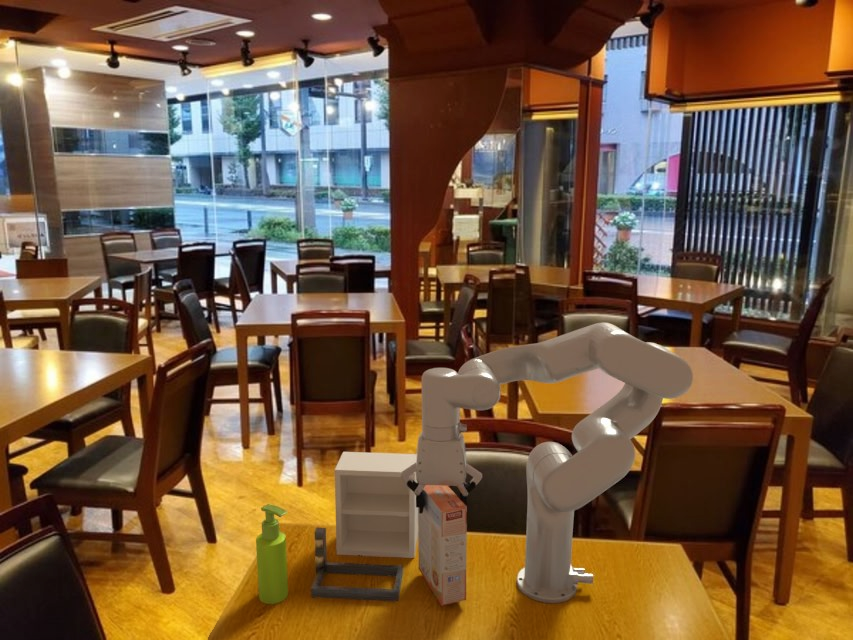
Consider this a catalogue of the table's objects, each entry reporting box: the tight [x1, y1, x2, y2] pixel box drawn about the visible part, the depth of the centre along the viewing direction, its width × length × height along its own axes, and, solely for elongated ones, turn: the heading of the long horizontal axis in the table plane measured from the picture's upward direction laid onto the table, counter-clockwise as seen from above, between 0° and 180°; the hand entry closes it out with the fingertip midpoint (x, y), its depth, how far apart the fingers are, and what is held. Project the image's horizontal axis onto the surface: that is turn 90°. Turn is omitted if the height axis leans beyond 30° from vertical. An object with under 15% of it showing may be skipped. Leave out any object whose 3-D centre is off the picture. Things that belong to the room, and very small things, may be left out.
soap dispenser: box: [255, 503, 289, 605], centre depth 130 cm, size 6×7×20 cm
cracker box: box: [417, 485, 468, 606], centre depth 133 cm, size 14×6×21 cm, turn 20°
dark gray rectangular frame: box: [310, 526, 404, 602], centre depth 135 cm, size 19×10×10 cm, turn 86°
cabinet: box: [334, 451, 418, 559], centre depth 149 cm, size 18×10×21 cm, turn 86°
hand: (441, 510), depth 131 cm, fingers closed on cracker box, 7 cm apart
